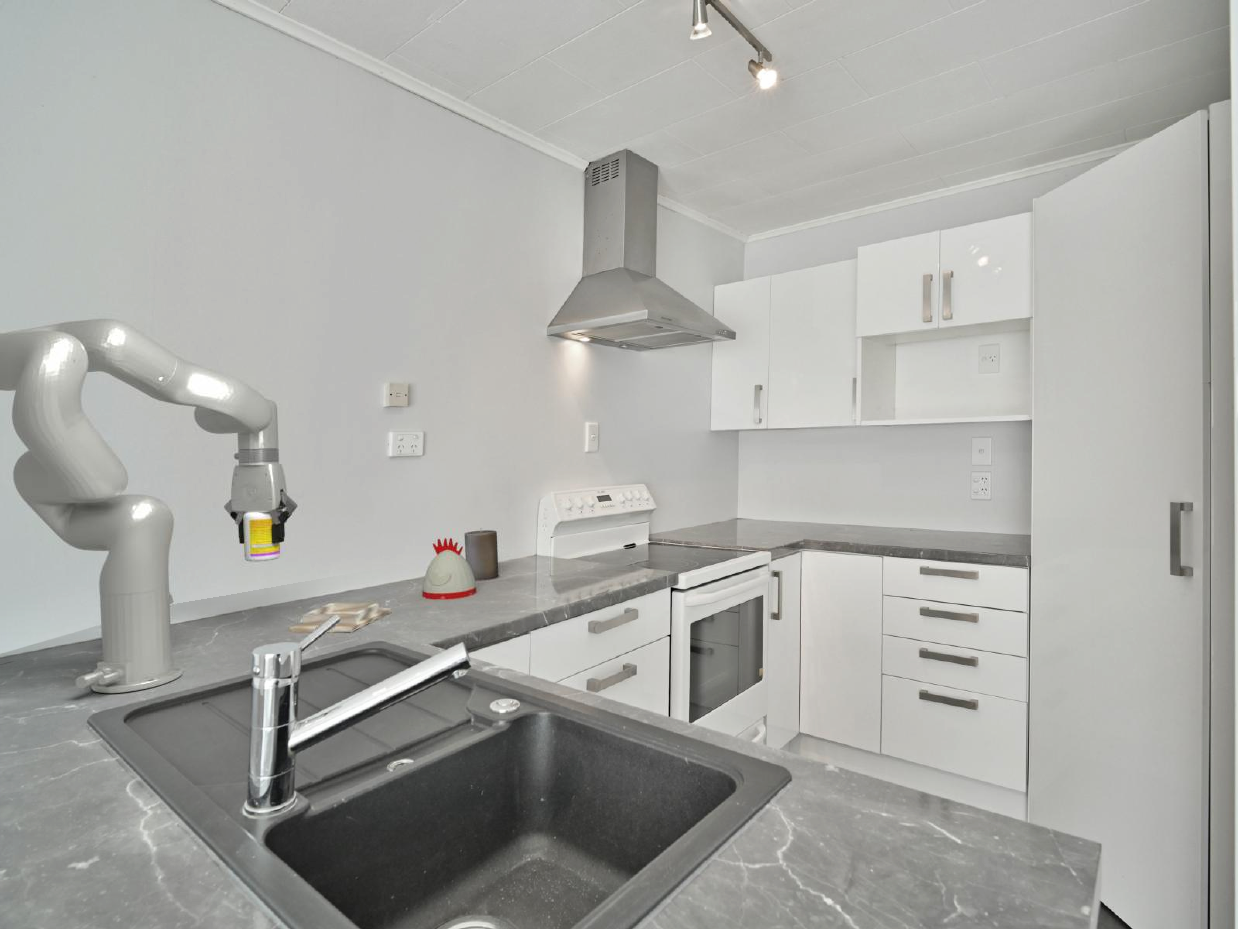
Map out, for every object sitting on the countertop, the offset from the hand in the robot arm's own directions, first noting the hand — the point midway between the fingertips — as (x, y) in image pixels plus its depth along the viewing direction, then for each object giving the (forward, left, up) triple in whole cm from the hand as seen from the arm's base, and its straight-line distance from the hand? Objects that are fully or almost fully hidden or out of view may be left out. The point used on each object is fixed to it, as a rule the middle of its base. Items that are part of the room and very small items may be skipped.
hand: (262, 542), depth 142 cm
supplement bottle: (0, 0, -4) cm, 4 cm away
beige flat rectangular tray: (+11, -11, -20) cm, 25 cm away
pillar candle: (+64, -25, -20) cm, 72 cm away
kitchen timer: (+41, -24, -20) cm, 52 cm away
